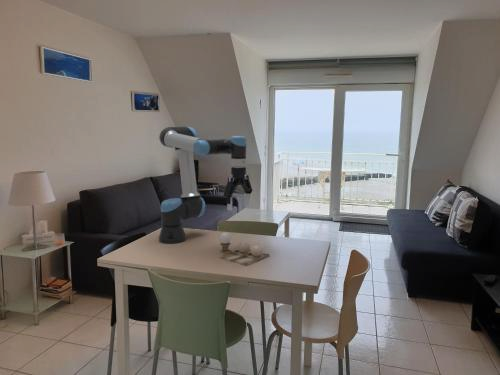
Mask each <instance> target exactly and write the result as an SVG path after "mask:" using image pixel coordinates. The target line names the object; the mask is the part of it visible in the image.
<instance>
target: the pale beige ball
mask: <svg viewBox="0 0 500 375" xmlns="http://www.w3.org/2000/svg"><path fill="white" fill-rule="evenodd" d="M237 249H238V250H239V252H240V253H243V254H244V253H247V252H248V251H249V249H251V248H250V244H249V243H248V242H247V241H241V242H239V243H238V245H237Z"/></svg>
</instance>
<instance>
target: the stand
mask: <svg viewBox="0 0 500 375" xmlns="http://www.w3.org/2000/svg"><path fill="white" fill-rule="evenodd" d="M219 245H220V246H221V247H222V249H220V250H219V251H220V252H221V253H222V254H226V253H229V252H231V249H230V248H229V247H230V246H231V242H229V243H228V244H223V243H221V242H220V244H219Z"/></svg>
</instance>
